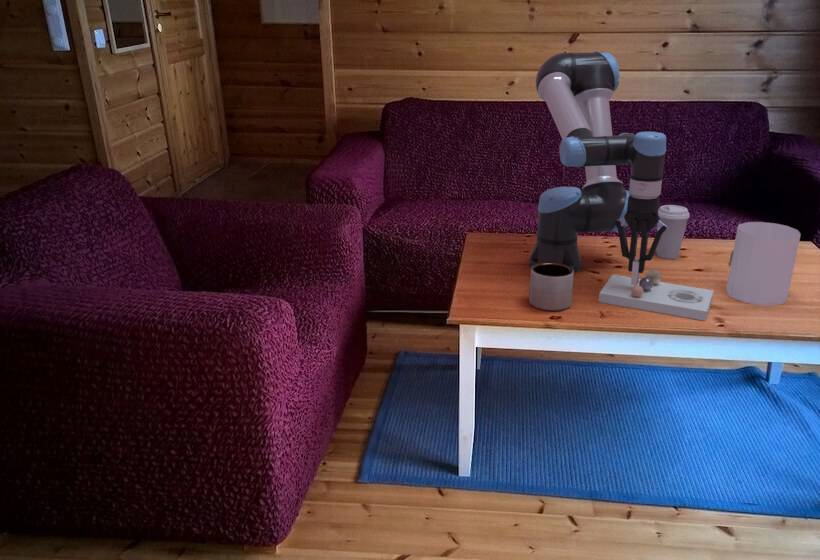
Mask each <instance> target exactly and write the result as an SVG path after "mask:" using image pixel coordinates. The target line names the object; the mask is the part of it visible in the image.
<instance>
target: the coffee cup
mask: <svg viewBox="0 0 820 560" xmlns="http://www.w3.org/2000/svg"><path fill="white" fill-rule="evenodd" d="M658 215H659V218H660V221H661V222H662V223H663V224H667V225H668V227H667V229H666V230H665V231H664V232H663V233H662V236H661V238H660V241H659V243H658V246H657V248H656V251H655V254H656V256H657V257H659V258H662V259H665V260H666V259H668V260H672V259H673V260H674V259H678V258H679V257H680V256H679V255H680V252H681V249H682V244H683V240H684V235H685V231H686V228H687V227H686V226H687V223H688V219H689V218H691V216H690V212H689V210H688V208H687V207H685V206H683V205H682V206H681V205H674V204H666V205H662V206H659V210H658ZM657 232H658V231H657V230H656V233H657Z"/></svg>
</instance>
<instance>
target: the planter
mask: <svg viewBox="0 0 820 560" xmlns="http://www.w3.org/2000/svg"><path fill="white" fill-rule="evenodd" d="M573 273H574V270H573V269H572V268H571V267H570V266H567V265H564V264H560V263H552V262H546V263H539V264H536V265H534V266H532V268H530V278H529V279H530V280H529V281H530V282H529V294H528V295H529V296H528V297H529V298H528V300H529V304H530V305H532V306H533V307H534V308H536V309H538V310H541V309H542V311H546V310H547V311H548V312H558V311H563V310H565V309H568V308H569V307H570V306H571V305H572V301H573V300H572V299H573V286H574V274H575V273H574V274H573Z"/></svg>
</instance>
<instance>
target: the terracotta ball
mask: <svg viewBox="0 0 820 560" xmlns="http://www.w3.org/2000/svg"><path fill="white" fill-rule="evenodd" d="M631 293H632V295H633V296H635V297H640V296H641V295H642V294H643V288H642V287H641V286H639V285H635V286H633V287H632V289H631Z"/></svg>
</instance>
